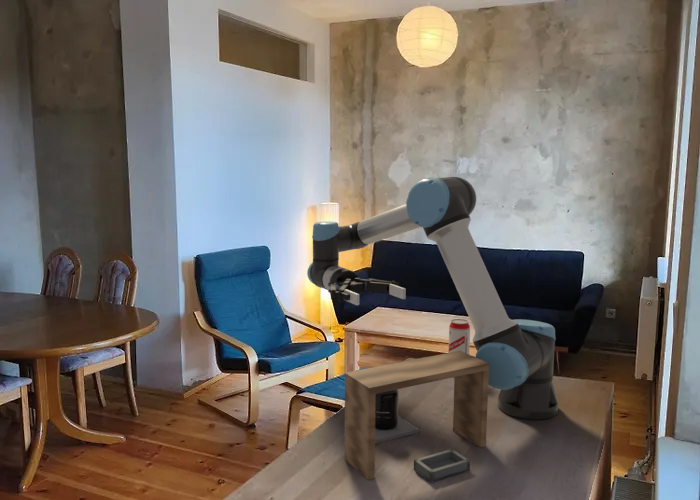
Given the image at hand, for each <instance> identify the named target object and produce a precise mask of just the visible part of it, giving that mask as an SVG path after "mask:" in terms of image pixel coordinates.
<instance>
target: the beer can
mask: <svg viewBox="0 0 700 500" xmlns="http://www.w3.org/2000/svg"><path fill="white" fill-rule="evenodd" d="M448 327H449V328H448V351H447V353H451V352H457V351H462V352H464V353H467V354H469V355H470V347H471V345H470V344H471V326H470V324H469V321H468V320H467V319H462V318H453V319H452V320H451V321H450V323H449V326H448Z"/></svg>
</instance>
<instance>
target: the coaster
mask: <svg viewBox="0 0 700 500" xmlns="http://www.w3.org/2000/svg"><path fill="white" fill-rule="evenodd" d="M418 433H419V428H418V427H415V426H414V425H412V423H409V421H406V420H405V419H403V417H401V416H399V415H398V423H397V426H396V427H395V428H393V429H390V430H379V429H376V428H375V444H379V443H383V442H387V441H390V440H394V439H399V438H401V437H406V436H410V435H414V434H418Z"/></svg>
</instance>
